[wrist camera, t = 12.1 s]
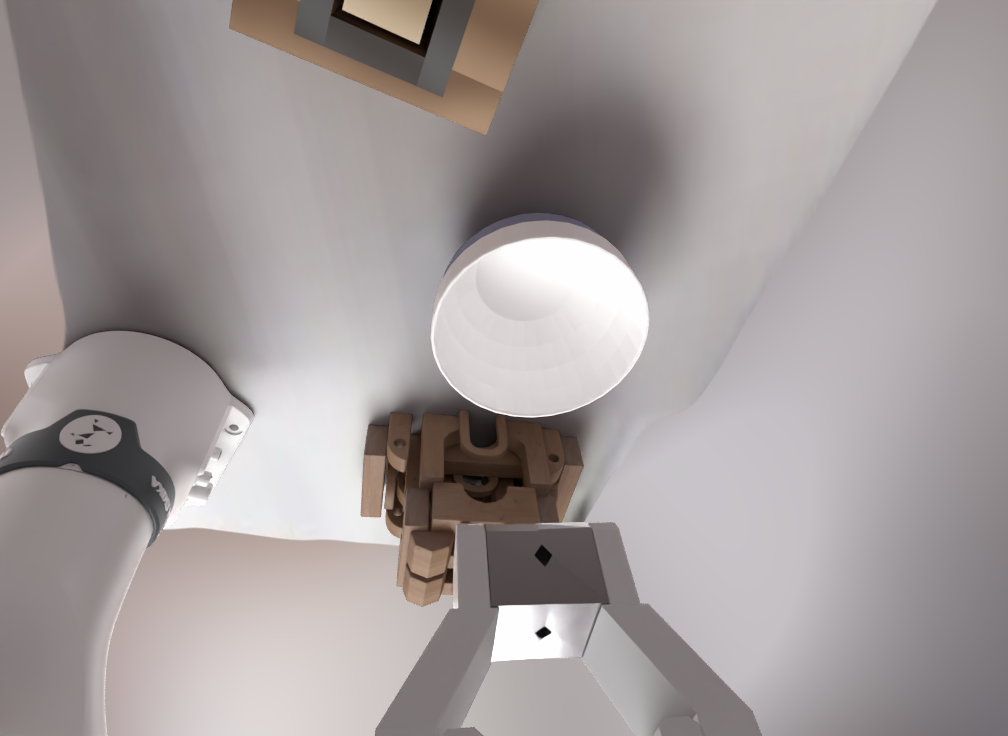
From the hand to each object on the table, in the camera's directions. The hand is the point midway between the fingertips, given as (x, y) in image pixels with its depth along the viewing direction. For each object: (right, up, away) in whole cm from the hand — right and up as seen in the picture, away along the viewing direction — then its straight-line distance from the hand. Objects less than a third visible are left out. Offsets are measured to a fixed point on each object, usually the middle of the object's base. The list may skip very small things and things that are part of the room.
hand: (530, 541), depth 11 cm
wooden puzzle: (-4, -7, +53) cm, 53 cm away
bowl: (+1, +12, +39) cm, 40 cm away
